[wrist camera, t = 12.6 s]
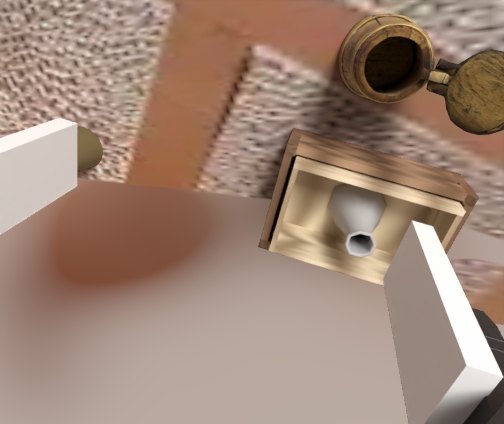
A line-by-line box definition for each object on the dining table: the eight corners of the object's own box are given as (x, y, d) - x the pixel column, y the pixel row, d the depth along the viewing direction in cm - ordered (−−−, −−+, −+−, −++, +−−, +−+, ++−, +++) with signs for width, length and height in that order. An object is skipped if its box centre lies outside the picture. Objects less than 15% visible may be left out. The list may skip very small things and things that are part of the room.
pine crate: (277, 220, 53) (268, 250, 46) (301, 142, 47) (294, 162, 40) (406, 259, 52) (417, 296, 44) (446, 182, 46) (465, 211, 39)
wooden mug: (442, 117, 44) (501, 171, 28) (328, 87, 45) (323, 122, 29) (481, 34, 40) (576, 42, 24) (354, 3, 41) (365, -9, 25)
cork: (64, 161, 57) (9, 189, 47) (63, 121, 54) (3, 143, 44) (102, 171, 56) (53, 202, 47) (103, 132, 53) (51, 156, 44)
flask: (326, 179, 48) (323, 214, 39) (386, 177, 46) (398, 213, 38) (328, 230, 51) (326, 273, 42) (385, 229, 49) (395, 274, 41)
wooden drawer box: (267, 221, 54) (258, 247, 48) (293, 127, 48) (287, 143, 42) (412, 264, 53) (422, 296, 47) (460, 174, 46) (479, 197, 40)
